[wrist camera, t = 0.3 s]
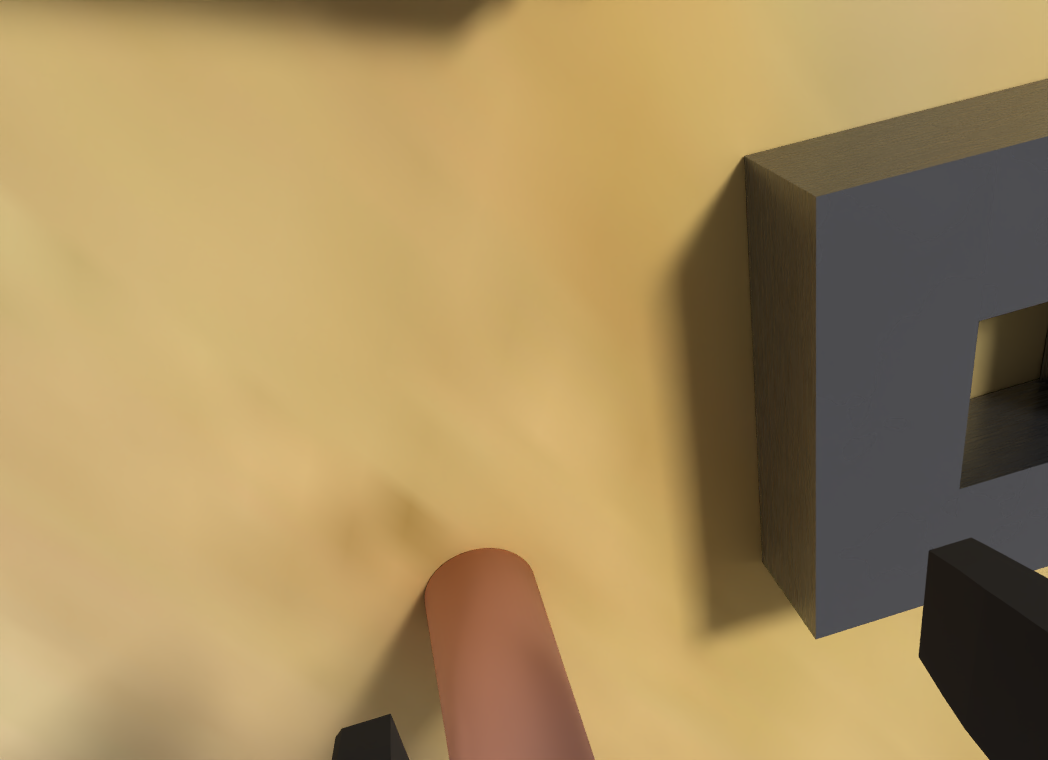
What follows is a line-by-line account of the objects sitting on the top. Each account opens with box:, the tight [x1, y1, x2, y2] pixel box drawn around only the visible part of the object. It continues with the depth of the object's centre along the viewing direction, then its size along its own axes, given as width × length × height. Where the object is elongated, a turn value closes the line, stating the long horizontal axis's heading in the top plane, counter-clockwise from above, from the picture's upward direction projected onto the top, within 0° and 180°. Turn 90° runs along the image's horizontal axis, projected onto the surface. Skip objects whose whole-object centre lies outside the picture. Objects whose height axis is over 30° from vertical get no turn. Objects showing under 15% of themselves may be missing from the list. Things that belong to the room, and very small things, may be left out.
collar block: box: [744, 79, 1048, 639], centre depth 20 cm, size 12×12×3 cm
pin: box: [424, 548, 595, 760], centre depth 19 cm, size 3×3×8 cm
